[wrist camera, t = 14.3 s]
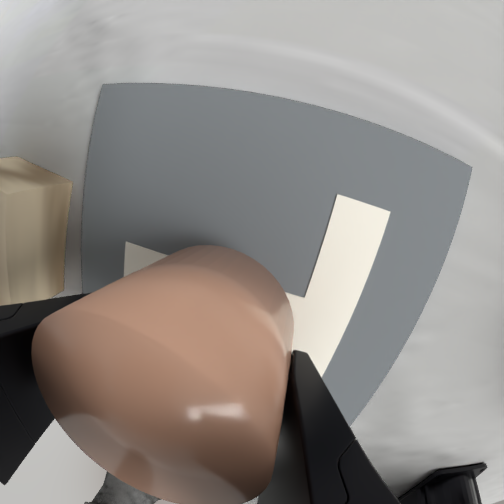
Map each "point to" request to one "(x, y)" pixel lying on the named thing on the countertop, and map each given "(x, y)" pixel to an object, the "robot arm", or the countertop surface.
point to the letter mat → (277, 212)
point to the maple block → (31, 231)
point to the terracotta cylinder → (175, 375)
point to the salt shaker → (121, 493)
